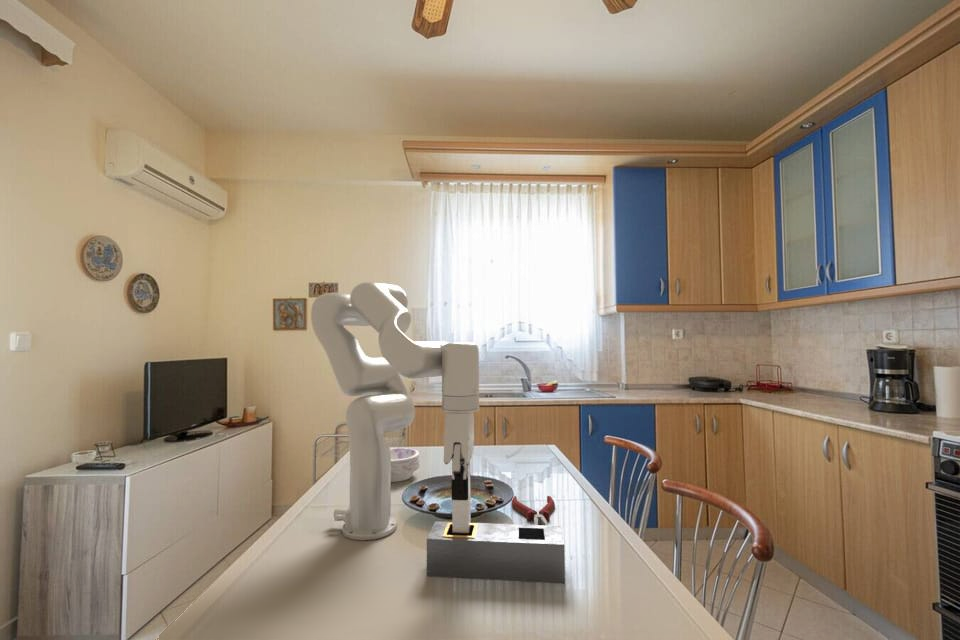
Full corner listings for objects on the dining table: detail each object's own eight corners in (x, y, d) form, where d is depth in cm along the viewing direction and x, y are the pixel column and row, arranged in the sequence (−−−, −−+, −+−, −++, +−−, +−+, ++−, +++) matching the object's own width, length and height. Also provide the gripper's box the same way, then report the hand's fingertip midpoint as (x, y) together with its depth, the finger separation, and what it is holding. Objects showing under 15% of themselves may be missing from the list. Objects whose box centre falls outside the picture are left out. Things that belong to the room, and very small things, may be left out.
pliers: (518, 536, 100) (518, 525, 100) (510, 503, 120) (510, 494, 120) (567, 536, 100) (567, 525, 100) (552, 503, 120) (552, 494, 120)
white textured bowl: (362, 483, 136) (363, 457, 136) (386, 469, 151) (387, 446, 151) (406, 487, 132) (406, 461, 132) (427, 472, 146) (427, 449, 147)
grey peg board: (426, 576, 82) (426, 537, 83) (435, 555, 90) (435, 520, 91) (564, 583, 80) (564, 543, 80) (561, 561, 88) (560, 525, 88)
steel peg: (452, 532, 84) (452, 465, 85) (455, 525, 88) (454, 460, 88) (468, 533, 84) (468, 465, 85) (470, 526, 87) (470, 461, 88)
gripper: (449, 398, 96) (449, 482, 95) (434, 409, 79) (434, 511, 78) (482, 398, 95) (483, 483, 94) (474, 409, 79) (475, 513, 78)
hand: (461, 495), depth 86 cm, fingers closed on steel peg, 3 cm apart
